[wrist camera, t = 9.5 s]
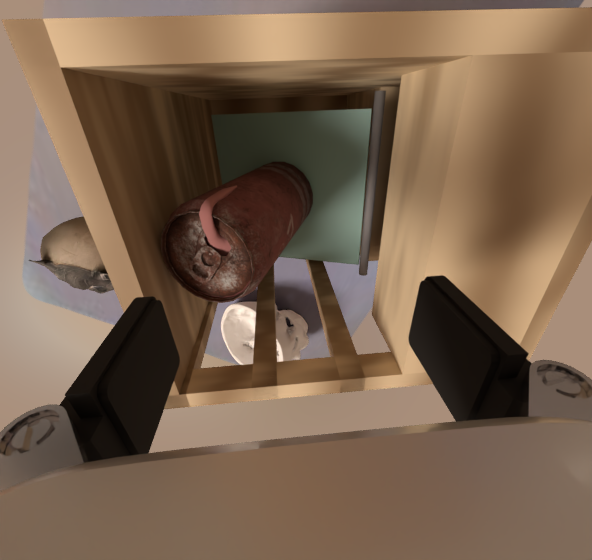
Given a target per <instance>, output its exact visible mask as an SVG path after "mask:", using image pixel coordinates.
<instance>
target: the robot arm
mask: <svg viewBox="0 0 592 560" xmlns="http://www.w3.org/2000/svg"><path fill="white" fill-rule="evenodd" d="M408 339H409V344H410V346H411V348H412V350H413V351H414V353H415V355H416V356H417V358H418V360H419V361H420V363H421V365H422V366H423V368H424V369H425V371H426V373H427V374H428V376H429V378H430V379H431V381H432V383H433V384H434V386H435V388H436V389H437V391H438V392H439V394H440V396H441V397H442V399H443V401H444V402H445V404H446V406H447V407H448V409H449V411H450V412H451V414H452V415H453V417H454V419H455V420H456V422H446V423H435V424H426V425H415V426H404V427H393V428H383V429H373V430H363V431H353V432H343V433H333V434H323V435H314V436H303V437H293V438H284V439H274V440H264V441H255V442H245V443H236V444H227V445H217V446H208V447H199V448H189V449H181V450H172V451H163V452H156V453H149V450H150V447H151V444H152V441H153V439H154V435H155V433H156V430H157V427H158V424H159V422H160V418H161V416H162V413H163V410H164V407H165V405H166V402H167V399H168V396H169V393H170V390H171V387H172V385H173V382H174V379H175V376H176V373H177V370H178V368H179V364H180V357H179V353H178V350H177V347H176V344H175V341H174V338H173V335H172V332H171V329H170V326H169V323H168V320H167V317H166V314H165V310H164V307H163V304H162V302H161V301H160V300H156V298H155V297H153V296H150V297H137V298H135V299H134V300H133V301H132V302H131V304H130V305H129V307H128V308H127V309H126V311H125V312H124V314H123V315H122V316H121V318H120V319H119V320H118V322H117V323H116V325H115V326H114V327H113V329H112V330H111V332H110V333H109V335H108V336H107V337H106V338H105V340H104V341H103V343H102V344H101V346H100V347H99V348H98V350H97V351H96V352H95V354H94V355H93V356H92V358H91V359H90V361H89V362H88V364H87V365H86V366H85V368H84V369H83V370H82V372H81V373H80V374H79V376H78V377H77V379H76V380H75V381H74V383H73V384H72V386H71V387H70V388H69V390H68V391H67V392H66V394H65V396H66V397H65V398H64V400H63V401H62V402H61V404H60V405H46V406H41V407H38V408H35V409H33V410H31V411H28V412H26V413H24V414H23V415H21V416H20V417H18V418H16V419H15V420H14V421H12V422H11V423H10V424H8V425H7V426H6V427H5V428H4V429H3V430H2V431H1V432H0V560H592V380H591V379H590V378H589V377H587V376H586V375H585V374H583V373H582V372H580V371H578V370H576V369H575V368H573V367H571V366H568V365H565V364H563V363H559V362H556V361H551V360H540V361H535V362H534V363H531V362H529V361H528V360H527V359H526V358H527V356H528V354H529V353H528V352H527V351H525V350H524V349H523V348H522V347H521V346H520V345H519V344H518V343H517V342H516V341H515V340H514V339H512V338H511V337H510V336H509V335H508V334H507V333H506V332H505V331H504V330H503V329H502V328H501V327H499V326H498V325H497V324H496V323H495V322H494V321H493V320H492V319H491V318H490V317H489V316H488V315H487V314H485V313H484V312H483V311H482V310H481V309H480V308H479V307H478V306H477V305H476V304H475V303H474V302H472V301H471V300H470V299H469V298H468V297H467V296H466V295H465V294H464V293H463V292H462V291H461V290H459V289H458V288H457V287H456V286H455V285H454V284H453V283H452V282H451V281H450V280H449V279H448V278H446V277H445V276H443V275H440V276H427V277H426V278H425V279H424V281H421V283H420V285H419V290H418V295H417V299H416V304H415V309H414V313H413V318H412V323H411V327H410V332H409V337H408Z"/></svg>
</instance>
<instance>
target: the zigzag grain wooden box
mask: <svg viewBox="0 0 592 560" xmlns="http://www.w3.org/2000/svg"><path fill="white" fill-rule="evenodd" d="M2 22H3V24H4V27H5V29H6V31H7V34H8V36H9V38H10V41H11V43H12V45H13V48H14V51H15V53H16V55H17V58H18V60H19V63H20V65H21V67H22V70H23V72H24V75H25V77H26V79H27V82H28V84H29V86H30V89H31V91H32V94H33V96H34V99H35V101H36V103H37V106H38V108H39V111H40V113H41V115H42V118H43V120H44V122H45V125H46V127H47V130H48V132H49V134H50V137H51V139H52V142H53V144H54V146H55V149H56V151H57V154H58V156H59V158H60V161H61V163H62V166H63V168H64V170H65V173H66V175H67V177H68V180H69V182H70V185H71V187H72V189H73V192H74V194H75V197H76V199H77V201H78V204H79V206H80V209H81V211H82V213H83V216H84V218H85V221H86V223H87V225H88V228H89V230H90V232H91V235H92V237H93V240H94V242H95V244H96V247H97V249H98V252H99V254H100V256H101V259H102V261H103V264H104V266H105V268H106V271H107V273H108V275H109V278H110V280H111V283H112V285H113V287H114V290H115V292H116V295H117V297H118V299H119V302H120V304H121V307H122V309H123V311H124V312H125V311H126V309H127V308H128V307H129V305H130V304H131V302H132V301H133V300H134V299H135V298H137V297H150V296H153V297H155V298H156V300H160V301H161V302H162V304H163V307H164V310H165V314H166V317H167V320H168V323H169V326H170V329H171V332H172V335H173V338H174V341H175V344H176V347H177V350H178V353H179V357H180V364H179V368H178V370H177V373H176V376H175V379H174V382H173V385H172V387H171V390H170V393H169V396H168V399H167V402H166V405H165V407H164V409H171V408H181V407H192V406H202V405H214V404H223V403H235V402H245V401H256V400H267V399H278V398H289V397H299V396H310V395H321V394H331V393H342V392H352V391H363V390H374V389H385V388H395V387H406V386H416V385H428V384H433V383H432V381H431V379H430V378H429V376H428V374H427V373H426V371H425V369H424V368H423V366H422V365H421V363H420V361H419V360H418V358H417V356H416V355H415V353H414V351H413V350H412V348H411V346H410V344H409V339H408V337H409V332H410V327H411V323H412V318H413V313H414V309H415V304H416V299H417V295H418V290H419V285H420V283H421V281H424V279H425V278H426V277H427V276H440V275H443V276H445V277H446V278H448V279H449V280H450V281H451V282H452V283H453V284H454V285H455V286H456V287H457V288H458V289H459V290H461V291H462V292H463V293H464V294H465V295H466V296H467V297H468V298H469V299H470V300H471V301H472V302H474V303H475V304H476V305H477V306H478V307H479V308H480V309H481V310H482V311H483V312H484V313H485V314H487V315H488V316H489V317H490V318H491V319H492V320H493V321H494V322H495V323H496V324H497V325H498V326H499V327H501V328H502V329H503V330H504V331H505V332H506V333H507V334H508V335H509V336H510V337H511V338H512V339H514V340H515V341H516V342H517V343H518V344H519V345H520V346H521V347H522V348H523V349H524V350H525V351H527V352H528V353H529V354H528V356H527V358H526V359H527V360H528V361H529V360H530V358H531V356H532V354H533V352H534V350H535V348H536V346H537V344H538V343H539V341H540V339H541V337H542V335H543V333H544V331H545V329H546V327H547V325H548V323H549V321H550V319H551V318H552V316H553V314H554V312H555V310H556V308H557V306H558V304H559V302H560V300H561V298H562V297H563V294H564V293H565V291H566V289H567V287H568V285H569V283H570V281H571V279H572V277H573V276H574V273H575V272H576V270H577V268H578V266H579V264H580V262H581V260H582V258H583V256H584V254H585V252H586V250H587V249H588V247H589V245H590V243H591V241H592V7H590V8H542V9H493V10H445V11H396V12H348V13H299V14H251V15H202V16H154V17H105V18H56V19H9V20H2ZM375 91H386V96H385V106H384V115H383V125H382V135H381V144H380V154H379V163H378V173H377V183H376V192H375V202H374V211H373V221H372V230H371V240H370V250H369V259H368V261H375V260H379V261H378V269H377V277H376V285H375V294H374V302H373V310H372V316H373V318H374V320H375V322H376V324H377V326H378V328H379V330H380V332H381V333H382V335H383V337H384V339H385V341H386V343H387V345H388V347H389V349H390V351H391V352H385V353H374V354H362V355H357V353H356V350H355V348H354V345H353V343H352V339H351V337H350V334H349V331H348V329H347V326H346V323H345V320H344V318H343V315H342V312H341V309H340V307H339V304H338V301H337V299H336V296H335V293H334V290H333V288H332V285H331V282H330V279H329V277H328V274H327V271H326V269H325V266H324V263H323V261H317V260H307V259H306V262H307V266H308V270H309V274H310V278H311V282H312V286H313V290H314V294H315V297H316V301H317V305H318V309H319V313H320V317H321V321H322V325H323V329H324V333H325V337H326V341H327V345H328V348H329V352H330V356H331V357H327V358H315V359H304V360H292V361H281V362H277V342H276V314H275V286H274V264H273V265H272V267H271V268H270V270H269V271H268V272H267V274H266V275H265V277H264V278H263V279H262V281H261V282H260V284H259V285H258V290H257V306H256V322H255V339H254V355H253V364H246V365H235V366H223V367H212V368H201V364H202V360H203V357H204V353H205V349H206V345H207V342H208V338H209V334H210V330H211V327H212V323H213V319H214V315H215V312H216V308H217V304H218V302H211V301H206V300H204V299H202V298H199V297H197V296H195V295H193V294H192V293H190V292H189V291H187V290H186V289H184V288H183V287H182V286H181V285H180V284H179V283H178V282H177V281H176V279H175V278H174V277H173V276H172V275H171V273H170V271H169V270H168V268H167V266H166V264H165V262H164V259H163V255H162V252H161V235H162V232H163V230H164V227H165V225H166V223H168V220H169V218H170V215H171V213H173V212H174V211H175V210H176V209H177V208H178V207H179V206H180V205H181V204H183V203H185V202H187V201H189V200H191V199H193V198H195V197H197V196H200V195H202V194H204V193H206V192H208V191H210V190H212V189H214V188H216V187H219V186H221V185H222V180H221V174H220V167H219V161H218V155H217V148H216V142H215V136H214V130H213V123H212V117H211V115H222V114H247V113H273V112H298V111H323V110H349V109H372V117H371V129H372V118H373V107H374V95H375ZM371 129H370V140H369V152H370V141H371ZM369 152H368V163H367V175H368V164H369ZM367 175H366V186H367ZM365 198H366V187H365ZM365 198H364V209H365ZM363 220H364V210H363ZM362 232H363V221H362ZM361 243H362V233H361ZM360 255H361V245H360Z"/></svg>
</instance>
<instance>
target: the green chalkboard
mask: <svg viewBox="0 0 592 560" xmlns="http://www.w3.org/2000/svg"><path fill="white" fill-rule="evenodd" d="M385 96H386V91H375V95H374V107H373V118H372V129H371V117H372V109H349V110H323V111H298V112H273V113H247V114H222V115H211V117H212V123H213V130H214V136H215V142H216V148H217V155H218V161H219V167H220V174H221V180H222V185H223V184H225V183H227V182H229V181H231V180H233V179H235V178H238V177H240V176H242V175H244V174H246V173H248V172H250V171H252V170H254V169H256V168H259V167H261V166H263V165H265V164H268V163H271V162H286V163H289V164H291V165H294V166H295V167H297V168H298V169H299V170H300V171H302V172H303V173H304V175H305V176H306V178H307V179H308V181H309V182H310V185H311V189H312V192H313V204H312V207H311V211H310V213H309V215H308V216H307V218H306V219H305V220H304V222H303V223H302V225H301V226H300V227H299V229H298V230H297V232H296V233H295V234H294V236H293V237H292V239H291V240H290V242H289V243H288V244H287V246H286V247H285V249H284V250H283V251H282V253H281V254H280V256H279V257H287V258H297V259H307V260H317V261H327V262H337V263H347V264H357V265H358V264H359V256H360V266H359V274H360V275H367V269H368V259H369V250H370V240H371V230H372V221H373V211H374V202H375V192H376V183H377V173H378V163H379V154H380V144H381V135H382V125H383V115H384V106H385ZM370 129H371V141H370V152H369V140H370ZM368 152H369V164H368V175H367V163H368ZM366 175H367V186H366ZM365 187H366V198H365ZM364 198H365V209H364ZM363 210H364V220H363ZM362 221H363V232H362ZM361 233H362V243H361ZM360 245H361V255H360Z"/></svg>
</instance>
